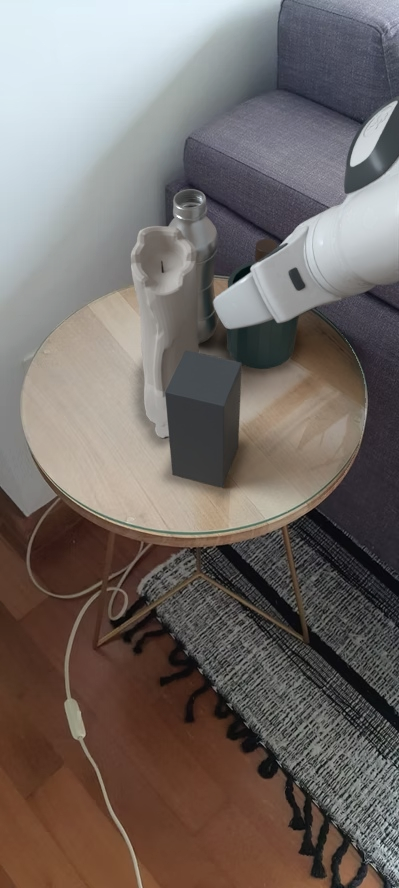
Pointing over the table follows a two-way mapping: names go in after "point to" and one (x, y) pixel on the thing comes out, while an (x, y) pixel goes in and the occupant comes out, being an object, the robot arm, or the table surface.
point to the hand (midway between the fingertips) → (260, 286)
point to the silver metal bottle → (199, 253)
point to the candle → (164, 311)
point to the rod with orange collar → (264, 248)
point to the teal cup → (261, 337)
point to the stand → (204, 417)
